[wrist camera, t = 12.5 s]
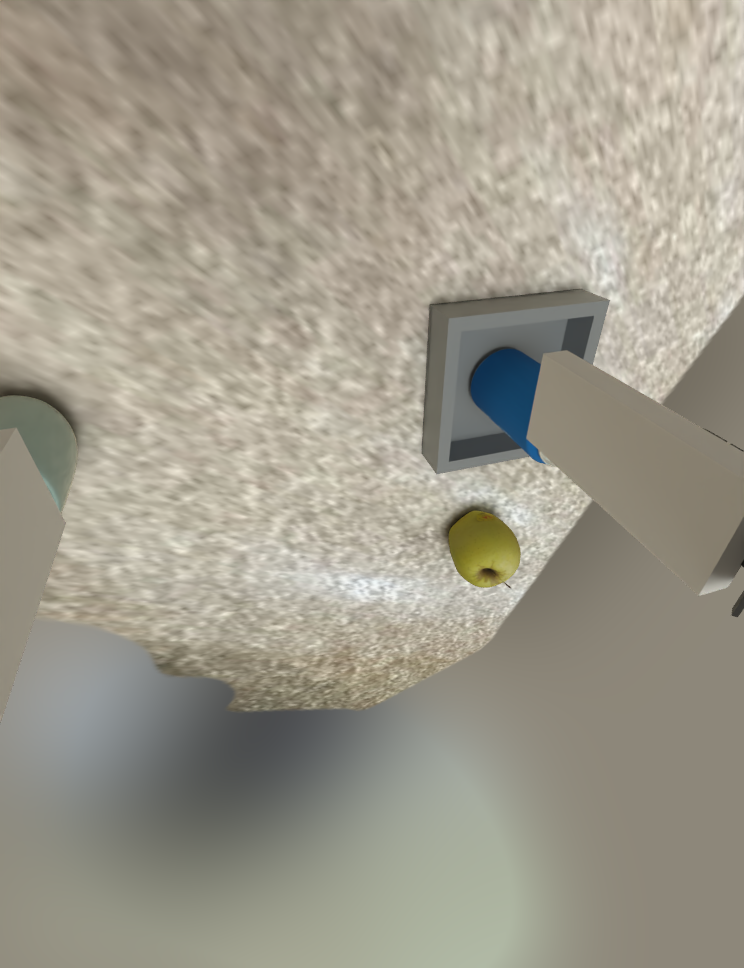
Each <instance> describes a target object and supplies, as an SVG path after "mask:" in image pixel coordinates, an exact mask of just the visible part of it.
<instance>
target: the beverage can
mask: <svg viewBox="0 0 744 968" xmlns="http://www.w3.org/2000/svg"><path fill="white" fill-rule="evenodd" d="M540 367H541V364H540V363H538V362H537V361H535V360H533V359H532V358H530V357H529V356H527V355H526V354H524V353H523V352H521V351H519V350H516V349H503V350H499V351H497V352H495V353H493V354H491V355H490V356H488V357H487V358H486V359H485V360H484V361H483V362H482V363H481V364H480V365H479V366H478V368H477V369H476V371H475V373H474V375H473V378H472V381H471V396H472V399H473V401H474V403H475V404H476V406H478V407H479V408H480V409H481V410H482V411H483V412H484V413H485V414H486V415H487V416H488V417H489V418H490V419H491V420H492V421H493V422H494V423H495V424H496V425H498V426H499V427H500V428H501V429H502V430H503V431H504V432H505V433H506V434H507V435H508V436H509V437H510V438H511V439H512V440H513V441H514V442H515V443H517V444H518V445H519V446H520V447H521V448H522V449H523V450H524V451H525V452H526V453H527V454H528V455H529V456H530V457H531V458H532V459H534V460H535V461H537V462H540V463H544V464H547V465H549V466H552V467H557V466H556V465H555V464H554V463H552V462H551V461H550V460H549V459H548V458H547V457H546V456H545V455H544V454H543V453H541V452H540V451H539V450H538V449H537V448H536V447H535V446H534V445H533V444H532V443H531V442H529V441H528V440H527V439H526V437H527V432H528V427H529V422H530V417H531V412H532V407H533V402H534V397H535V392H536V387H537V382H538V377H539V372H540Z"/></svg>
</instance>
